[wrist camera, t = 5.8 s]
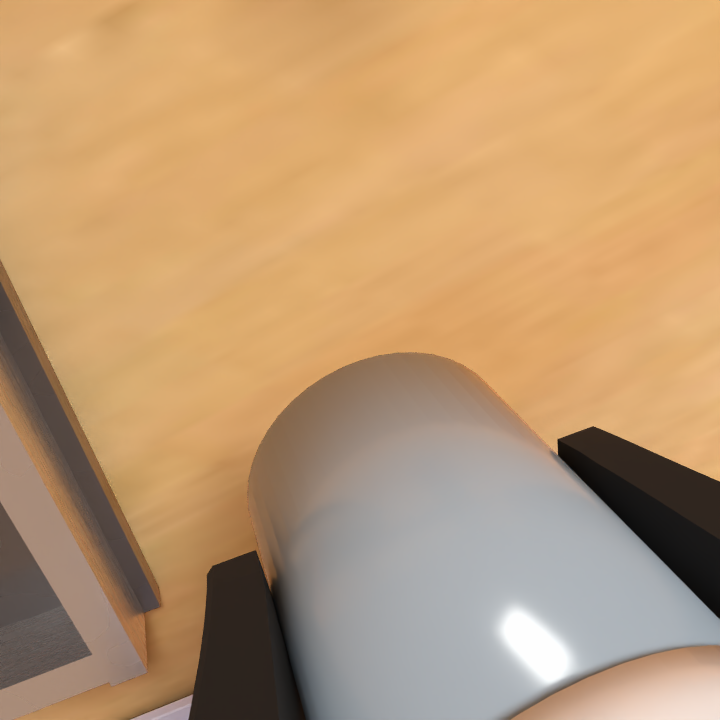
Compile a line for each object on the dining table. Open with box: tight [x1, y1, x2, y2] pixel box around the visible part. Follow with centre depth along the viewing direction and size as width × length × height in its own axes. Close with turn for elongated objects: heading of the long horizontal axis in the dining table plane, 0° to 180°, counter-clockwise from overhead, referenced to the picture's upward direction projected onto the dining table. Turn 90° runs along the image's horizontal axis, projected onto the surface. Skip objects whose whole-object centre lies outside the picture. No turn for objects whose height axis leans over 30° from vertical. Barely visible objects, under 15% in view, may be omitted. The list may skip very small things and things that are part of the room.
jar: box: [247, 353, 720, 720], centre depth 9 cm, size 5×5×6 cm
